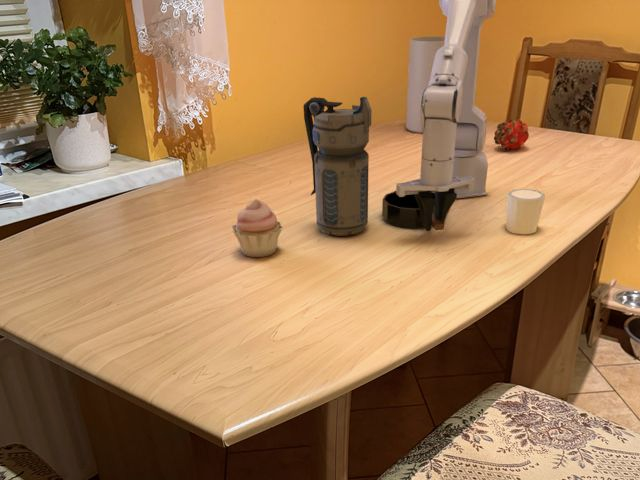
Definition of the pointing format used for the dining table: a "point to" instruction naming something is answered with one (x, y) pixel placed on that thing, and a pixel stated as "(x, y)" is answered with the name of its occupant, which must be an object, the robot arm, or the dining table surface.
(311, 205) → the dining table surface
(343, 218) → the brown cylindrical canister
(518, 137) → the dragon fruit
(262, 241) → the cupcake
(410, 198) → the skillet
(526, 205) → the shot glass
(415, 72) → the cylinder vase
